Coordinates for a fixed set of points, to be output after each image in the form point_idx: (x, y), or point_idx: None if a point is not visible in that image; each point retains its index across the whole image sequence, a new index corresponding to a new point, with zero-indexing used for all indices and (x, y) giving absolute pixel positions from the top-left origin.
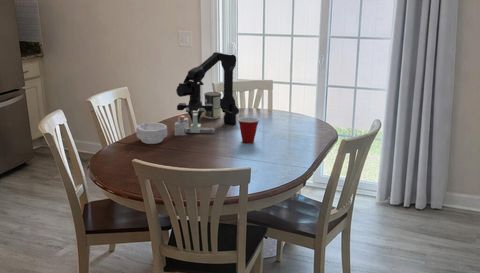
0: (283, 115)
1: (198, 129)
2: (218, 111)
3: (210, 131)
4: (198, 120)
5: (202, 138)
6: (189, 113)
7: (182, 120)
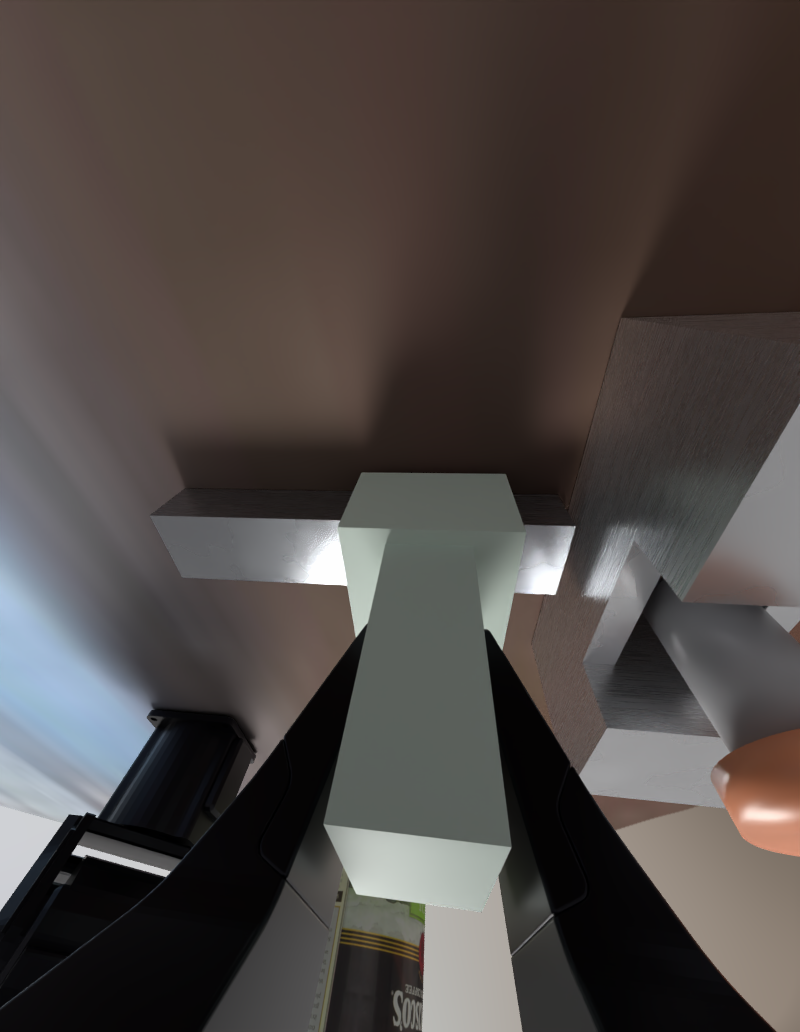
0: (40, 800)
1: (368, 500)
2: None
3: (210, 502)
4: (348, 664)
5: (215, 138)
6: (690, 987)
7: (765, 676)
